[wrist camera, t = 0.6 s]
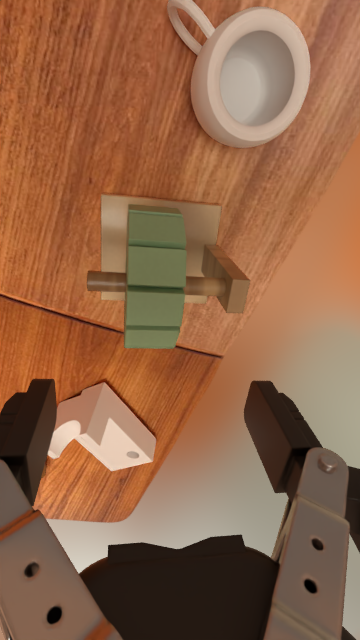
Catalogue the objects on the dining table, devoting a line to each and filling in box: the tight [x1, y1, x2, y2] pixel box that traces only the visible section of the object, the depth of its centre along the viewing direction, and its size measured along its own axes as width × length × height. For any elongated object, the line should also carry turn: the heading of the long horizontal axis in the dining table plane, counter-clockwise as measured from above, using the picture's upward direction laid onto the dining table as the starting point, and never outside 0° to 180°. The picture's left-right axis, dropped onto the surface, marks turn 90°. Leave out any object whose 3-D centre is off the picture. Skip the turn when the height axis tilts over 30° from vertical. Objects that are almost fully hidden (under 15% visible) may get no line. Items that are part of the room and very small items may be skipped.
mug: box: [167, 0, 310, 148], centre depth 25 cm, size 12×8×8 cm
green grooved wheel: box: [124, 204, 187, 349], centre depth 28 cm, size 4×12×12 cm, turn 174°
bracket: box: [48, 382, 156, 471], centre depth 43 cm, size 13×7×8 cm, turn 29°
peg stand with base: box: [87, 193, 250, 313], centre depth 30 cm, size 13×11×12 cm
